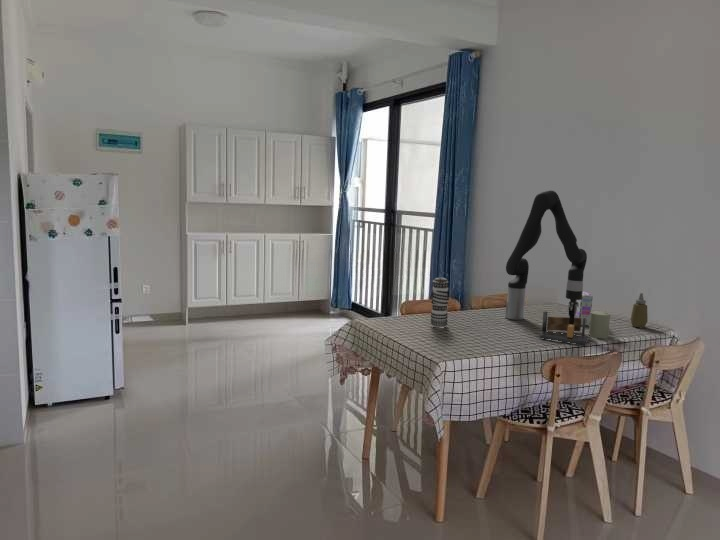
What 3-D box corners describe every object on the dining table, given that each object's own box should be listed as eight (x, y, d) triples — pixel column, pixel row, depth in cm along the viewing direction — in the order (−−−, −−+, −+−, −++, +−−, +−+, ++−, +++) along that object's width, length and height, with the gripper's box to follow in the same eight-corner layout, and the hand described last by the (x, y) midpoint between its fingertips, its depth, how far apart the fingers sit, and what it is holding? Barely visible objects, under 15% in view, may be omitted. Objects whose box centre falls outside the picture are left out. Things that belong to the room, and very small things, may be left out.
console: (540, 339, 267) (540, 335, 267) (543, 335, 275) (543, 331, 275) (584, 345, 258) (585, 341, 258) (586, 341, 266) (587, 336, 266)
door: (548, 330, 281) (548, 317, 280) (546, 329, 283) (547, 316, 282) (581, 332, 279) (582, 318, 278) (579, 330, 282) (580, 317, 281)
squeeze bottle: (646, 326, 298) (649, 292, 295) (647, 329, 290) (650, 295, 288) (629, 324, 301) (632, 291, 298) (629, 327, 294) (633, 293, 291)
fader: (566, 337, 263) (567, 326, 262) (568, 334, 267) (569, 324, 267) (572, 337, 262) (573, 327, 261) (573, 335, 266) (574, 324, 266)
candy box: (590, 326, 294) (593, 295, 292) (578, 325, 295) (581, 295, 293) (585, 320, 308) (587, 291, 305) (574, 319, 309) (576, 290, 306)
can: (607, 339, 270) (609, 315, 268) (586, 336, 274) (588, 312, 273) (610, 335, 277) (612, 311, 276) (590, 332, 282) (592, 309, 280)
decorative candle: (451, 326, 288) (453, 278, 285) (441, 329, 282) (443, 280, 278) (436, 323, 295) (438, 276, 291) (426, 326, 288) (428, 278, 284)
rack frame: (541, 331, 282) (543, 311, 281) (542, 330, 284) (543, 311, 283) (583, 336, 273) (585, 316, 272) (584, 335, 275) (585, 315, 274)
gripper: (581, 292, 268) (577, 327, 271) (584, 288, 280) (581, 322, 282) (564, 290, 272) (561, 325, 274) (568, 286, 283) (565, 320, 286)
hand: (571, 323), depth 278 cm, fingers closed
